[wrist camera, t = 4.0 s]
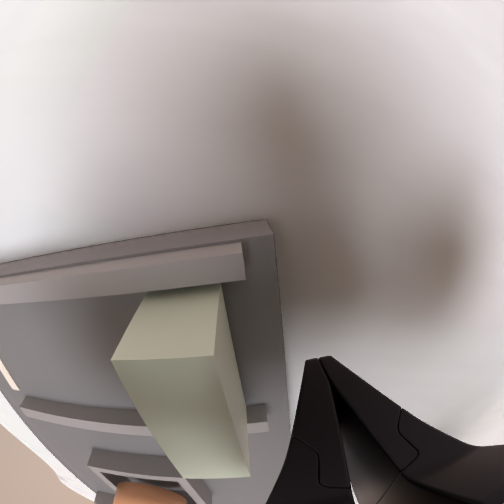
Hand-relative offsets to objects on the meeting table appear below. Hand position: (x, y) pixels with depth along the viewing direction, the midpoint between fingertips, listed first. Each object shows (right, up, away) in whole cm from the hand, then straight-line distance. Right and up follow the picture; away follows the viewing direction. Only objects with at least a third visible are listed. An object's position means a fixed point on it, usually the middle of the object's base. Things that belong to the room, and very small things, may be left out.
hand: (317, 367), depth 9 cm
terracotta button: (-8, -12, +4) cm, 15 cm away
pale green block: (-4, 0, +1) cm, 4 cm away
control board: (-9, -10, +7) cm, 15 cm away
